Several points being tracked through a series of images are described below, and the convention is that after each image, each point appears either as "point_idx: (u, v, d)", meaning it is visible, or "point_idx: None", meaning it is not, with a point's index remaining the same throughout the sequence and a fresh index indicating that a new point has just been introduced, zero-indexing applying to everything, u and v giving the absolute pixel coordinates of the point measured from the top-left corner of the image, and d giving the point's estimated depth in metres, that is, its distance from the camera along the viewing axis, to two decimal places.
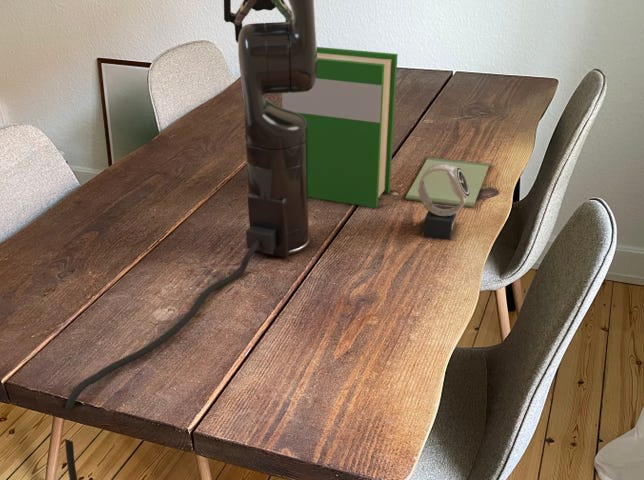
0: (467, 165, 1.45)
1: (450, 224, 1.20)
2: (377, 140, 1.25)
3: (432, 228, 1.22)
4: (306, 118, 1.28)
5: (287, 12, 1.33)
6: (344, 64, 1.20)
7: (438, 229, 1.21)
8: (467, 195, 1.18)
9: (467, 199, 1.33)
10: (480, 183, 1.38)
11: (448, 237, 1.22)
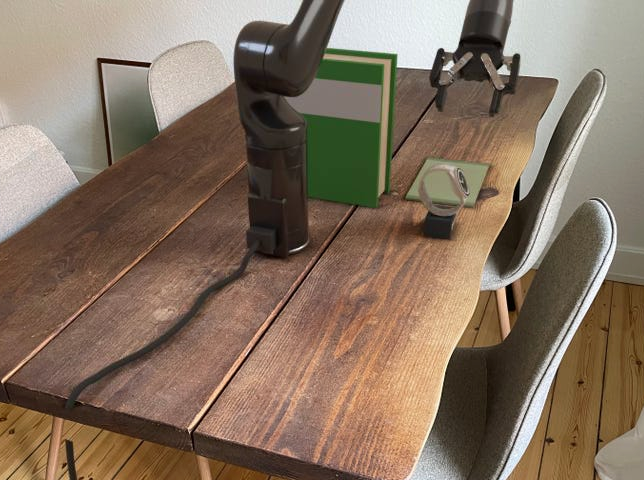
0: (467, 165, 1.45)
1: (450, 224, 1.20)
2: (377, 140, 1.25)
3: (432, 228, 1.22)
4: (306, 118, 1.28)
5: (498, 78, 1.23)
6: (344, 64, 1.20)
7: (438, 229, 1.21)
8: (467, 195, 1.18)
9: (467, 199, 1.33)
10: (480, 183, 1.38)
11: (448, 237, 1.22)
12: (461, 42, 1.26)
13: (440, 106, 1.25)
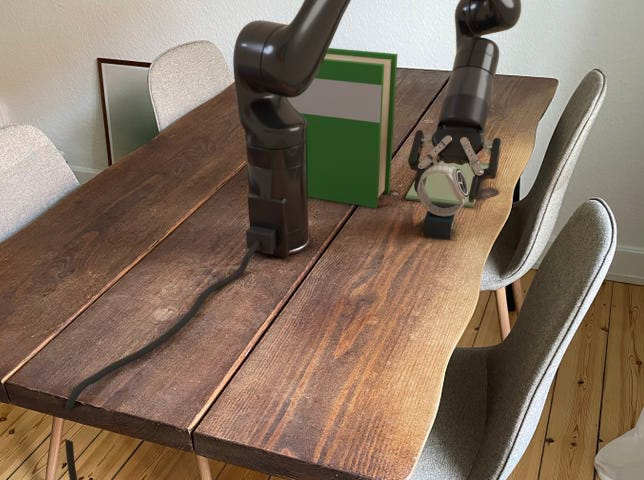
0: (467, 165, 1.45)
1: (450, 225, 1.20)
2: (377, 140, 1.25)
3: (432, 229, 1.21)
4: (306, 118, 1.28)
5: (477, 164, 1.19)
6: (344, 64, 1.20)
7: (438, 230, 1.21)
8: (466, 196, 1.18)
9: (467, 199, 1.33)
10: None
11: (448, 237, 1.22)
12: (440, 124, 1.22)
13: None
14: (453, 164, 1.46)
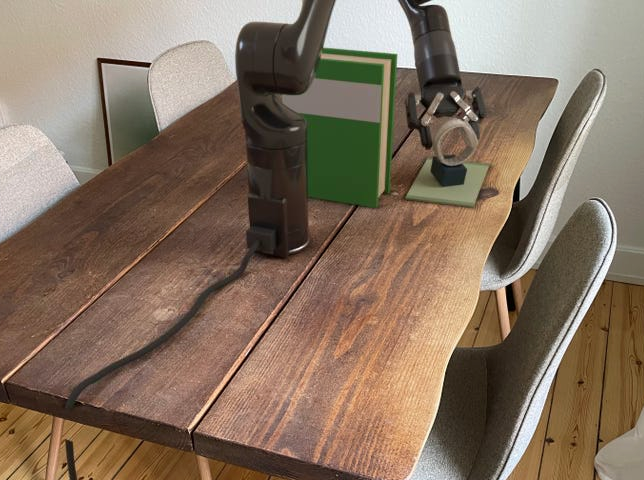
0: (467, 165, 1.45)
1: (465, 171, 1.36)
2: (377, 140, 1.25)
3: (450, 178, 1.36)
4: (306, 118, 1.28)
5: (470, 111, 1.37)
6: (344, 64, 1.20)
7: (455, 178, 1.37)
8: None
9: (467, 199, 1.33)
10: (480, 183, 1.38)
11: (462, 183, 1.38)
12: (425, 84, 1.37)
13: (431, 145, 1.35)
14: None
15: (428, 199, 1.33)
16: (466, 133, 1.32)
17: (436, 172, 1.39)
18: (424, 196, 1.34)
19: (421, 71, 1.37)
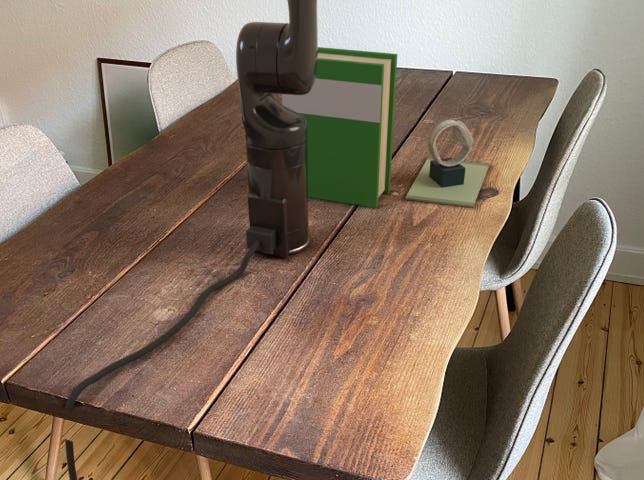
0: (467, 165, 1.45)
1: (464, 170, 1.37)
2: (377, 140, 1.25)
3: (449, 178, 1.37)
4: (306, 118, 1.28)
5: None
6: (344, 64, 1.20)
7: (454, 178, 1.37)
8: None
9: (467, 199, 1.33)
10: (480, 183, 1.38)
11: (462, 183, 1.38)
12: None
13: None
14: None
15: (428, 199, 1.33)
16: (460, 131, 1.33)
17: (435, 175, 1.39)
18: (424, 196, 1.34)
19: None
